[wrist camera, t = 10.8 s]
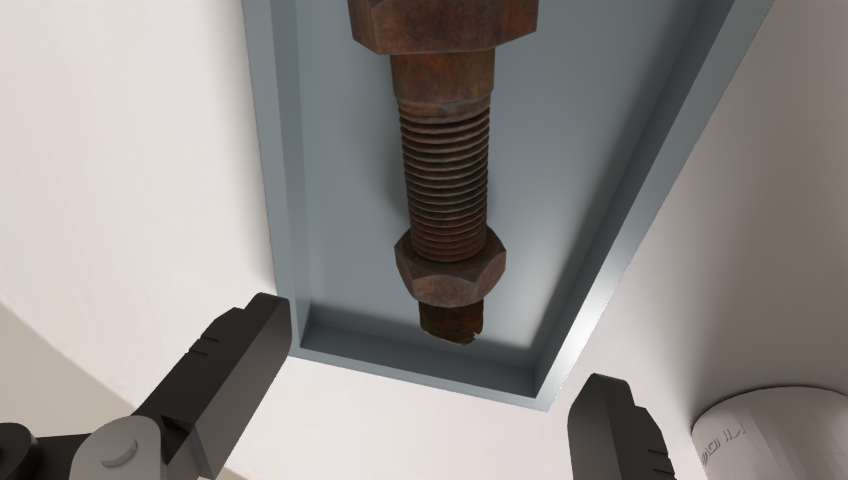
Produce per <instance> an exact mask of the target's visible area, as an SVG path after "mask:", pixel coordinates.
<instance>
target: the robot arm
mask: <svg viewBox="0 0 848 480" xmlns="http://www.w3.org/2000/svg"><path fill="white" fill-rule="evenodd" d="M291 343H292V325H291V312H290V302H289V300H288V299H287V298H283V297H279V296H275V295H270V294H266V293H262V292H260V293H258V294H256V295H255V296H254V297H253V299H252V300H251V301H250V302H249V304H248V305H247V306H246V307H245V309H240V308H236V307H234V308H232V309H230V310H229V311H227V312H226V313H224V314H222V315H221V316H219V317H218V318H216V319H215V320H214V321H213V322H212V323H211V324H210V325H209V327H208V328H207V329H206V330H205V331H204V332H203V334H202V335H201V337H200V339H197V341H196V342H195V343H194V344H193V345H192V346H191V348H190V349H189V352H188V353H185V355H184V356H183V357H182V358H181V359H180V360H179V362H178V363H177V364H176V365H175V366H174V367H173V369H172V370H171V371H170V372H169V373H168V374H167V376H166V377H165V378H164V379H163V380H162V381H161V383H160V384H159V385H158V386H157V387H156V388H155V390H154V391H153V392H152V393H151V394H150V395H149V397H148V398H147V399H146V400H145V401H144V402H143V404H142V405H141V406H140V407H139V408H138V409H137V410H136V411H135V412H133V413H132V414H131V415H130V416H127V417H122V418H119V419H116V420H113V421H112V422H109V423H107V424H105V425H104V426H102V427H100V428H99V429H97V430H96V431H95V432H93V433H88V434H80V435H65V436H52V437H40V438H35V437H34V436H33V435H32V434H31V433H30V431H29V430H28V429H27V428H26V427H25V426H23V425H21V424H18V423H0V480H197V479H198V477H199V476H201V477H204V478H207V479H211V480H215V479H216V478H217V476H218V474H219V472H220V471H221V469H222V467H223V466H224V464H225V462H226V460H227V459H228V457H229V455H230V454H231V452H232V450H233V449H234V447H235V445H236V443H237V442H238V440H239V438H240V437H241V435H242V433H243V431H244V430H245V428H246V426H247V425H248V423H249V421H250V419H251V418H252V416H253V414H254V413H255V411H256V409H257V408H258V406H259V404H260V402H261V401H262V399H263V397H264V396H265V394H266V392H267V390H268V389H269V387H270V385H271V384H272V382H273V380H274V378H275V377H276V375H277V373H278V372H279V370H280V368H281V367H282V365H283V363H284V361H285V360H286V358H287V356H288V353H289V351H290V347H291ZM567 429H568V438H569V447H570V455H571V463H572V471H573V480H677V479H675V477H674V475H675V472H674V469H673V466H672V463H671V460H670V459H669V458H668V451H667V448H666V445H665V442H664V439H663V436H662V432H661V430H660V429H659V427H658V426H657V424H656V423H655V421H654V420H653V418H652V417H651V415H650V414H649V412H648V411H647V410H646V408H643V407H639V406H635V404H634V400H633V397H632V393H631V390H630V387H629V385H628V383H627V382H626V381H625V380H621V379H617V378H613V377H609V376H605V375H601V374H596V373H593V374H591V375H590V377H589V378H588V380H587V381H586V383H585V385H584V386H583V388H582V390H581V391H580V393H579V394H578V396H577V398H576V399H575V401H574V403H573V404H572V406H571V408H570V411H569V415H568V424H567ZM692 439H693V443H694V446H695V448H696V451H697V453H698V456H699V458H700V461H701V463H702V466H703V468H704V471H705V473H706V475H707V478H708V480H848V397H847V396H844V395H842V394H839V393H837V392H833V391H828V390H824V389H819V388H809V387H777V388H770V389H762V390H757V391H753V392H749V393H745V394H741V395H738V396H735V397H733V398H730V399H727V400H725V401H723V402H721V403H719V404H717V405H715V406H714V407H712V408H710V409H709V410H708V411H707V412H705V413H704V414H703V415H702V416H700V418H699V419H698V421H697V422H696V423H695V425H694V428H693V431H692Z"/></svg>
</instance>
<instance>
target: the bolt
mask: <svg viewBox="0 0 848 480" xmlns="http://www.w3.org/2000/svg"><path fill="white" fill-rule="evenodd" d="M347 3H348V10H349V17H350V24H351V30H352V37H353V40H354V41H356V42H358V43H359V44H361V45H363V46H364V47H366V48H368V49H369V50H371V51H372V52H374V53H376V54H377V55H390V63H391V72H392V82H393V91H394V95H395V97H396V98H397V104H398V105H399V107H398V112H399V115H400V118H399V122H400V124H401V127H400V131H401V134H402V136H401V141H402V143H403V144H402V151H403V159H404V164H403V166H404V169H405V171H404V175H405V183H406V189H407V198H408V210H409V219H410V226H411V227H410V228H409V229H408V230H407V231H406V232H405V233H404V234H403V235H402V236H401V238H400V239H399V240H398V242H397V243H396V244H395V246H394V252H395V259H396V266H397V268H398V271H399V273H400V276H401V278H402V280H403V282H404V284H405V286H406V288H407V290H408V292H409V293H410V295H411V296H412V297H413V298H414V299H415V300H418V306H419V314H420V326H421V328H422V329H423V330H424V332H426V333H427V334H430V335H432V336H435V337H437V338H440V339H442V340H445V341H447V342H450V343H452V344H455V345H458V346H464V345H467V344H469V343H471V342H473V341H474V340H475V338H474V336H475V334H477V335H479V334H480V333H481V332H482V329H483V321H484V318H483V310H484V297H485V296H486V295H487V294H489V293H490V292H491V290H492V289H493V288H494V287H495V285H496V284H497V283H498V281H499V280H500V278H501V276H502V275H503V273H504V272H505V267H506V253H507V251H506V249H505V247H504V245H503V244H502V242H501V240H500V239H499V237H498V236H497V235H496V233H495V232H494V231H493V229H491V228H490V227H489V226H488V225H487V223H486V220H487V192H488V188H487V184H488V177H487V176H488V169H487V167H488V154H489V153H488V150H489V144H488V142H489V135H488V134H489V131H490V127H489V124H490V119H489V115H490V107H489V106H490V103H491V92H492V91H493V88H494V69H495V47H497V46H500V45H502V44H505V43H507V42H510V41H513V40H515V39H518V38H521V37H523V36H526V35H528V34H531V33H534V32H535V31H537V19H538V7H539V0H347Z"/></svg>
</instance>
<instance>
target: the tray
mask: <svg viewBox="0 0 848 480" xmlns="http://www.w3.org/2000/svg"><path fill="white" fill-rule="evenodd" d="M773 2H774V0H539V7H538V19H537V31H535V32H534V33H531V34H528V35H526V36H523V37H521V38H518V39H515V40H513V41H510V42H507V43H505V44H502V45H500V46H497V47H495V69H494V88H493V91H492V92H491V103H490V106H489V107H490V115H489V119H490V124H489V127H490V131H489V134H488V135H489V142H488V144H489V150H488V153H489V154H488V167H487V169H488V176H487V177H488V184H487V188H488V192H487V220H486V223H487V225H488V226H489V227H490V228H491V229H493V231H494V232H495V233H496V235H497V236H498V237H499V239H500V240H501V242H502V244H503V245H504V247H505V249H506V251H507V253H506V267H505V272H504V273H503V275H502V276H501V278H500V280H499V281H498V283H497V284H496V285H495V287H494V288H493V289H492V290H491V292H490V293H489V294H487V295H486V296H485V297H484V310H483V318H484V321H483V329H482V332H481V333H480V334H479V335H477V334H475V336H474V338H475V340H474V341H473V342H471V343H469V344H467V345H464V346H458V345H455V344H452V343H450V342H447V341H445V340H442V339H440V338H437V337H435V336H432V335H430V334H427V333H426V332H424V330H423V329H422V328H421V326H420V314H419V306H418V300H415V299H414V298H413V297H412V296H411V295H410V293H409V292H408V290H407V288H406V286H405V284H404V282H403V280H402V278H401V276H400V273H399V271H398V268H397V266H396V259H395V252H394V246H395V244H396V243H397V242H398V240H399V239H400V238H401V236H402V235H403V234H404V233H405V232H406V231H407V230H408V229H409V228H410V227H411V226H410V219H409V210H408V198H407V189H406V183H405V175H404V171H405V169H404V166H403V164H404V159H403V151H402V144H403V143H402V141H401V136H402V134H401V131H400V127H401V124H400V122H399V118H400V115H399V112H398V107H399V105H398V104H397V98H396V97H395V95H394V91H393V82H392V72H391V63H390V55H377V54H376V53H374V52H372V51H371V50H369V49H368V48H366V47H364V46H363V45H361V44H359V43H358V42H356V41H354V40H353V37H352V30H351V24H350V17H349V10H348V3H347V0H242V7H243V15H244V23H245V31H246V40H247V48H248V56H249V65H250V73H251V81H252V89H253V98H254V106H255V114H256V123H257V131H258V139H259V147H260V156H261V164H262V172H263V181H264V189H265V197H266V206H267V214H268V222H269V230H270V239H271V247H272V255H273V264H274V272H275V280H276V288H277V296H279V297H283V298H287V299H288V300H289V302H290V312H291V325H292V343H291V347H290V351H289V353H288V356H292V357H296V358H301V359H305V360H310V361H314V362H319V363H324V364H328V365H333V366H337V367H342V368H347V369H351V370H356V371H360V372H365V373H369V374H374V375H379V376H383V377H388V378H392V379H397V380H402V381H406V382H411V383H415V384H420V385H424V386H429V387H434V388H438V389H443V390H447V391H452V392H457V393H461V394H466V395H470V396H475V397H479V398H484V399H489V400H493V401H498V402H502V403H507V404H512V405H516V406H521V407H525V408H530V409H534V410H539V411H544V412H548V411H549V409H550V407H551V405H552V404H553V402H554V400H555V398H556V396H557V394H558V393H559V391H560V389H561V387H562V385H563V384H564V382H565V380H566V378H567V376H568V374H569V373H570V371H571V369H572V367H573V365H574V364H575V362H576V360H577V358H578V356H579V354H580V353H581V351H582V349H583V347H584V345H585V344H586V342H587V340H588V338H589V336H590V335H591V333H592V331H593V329H594V327H595V325H596V324H597V322H598V320H599V318H600V316H601V315H602V313H603V311H604V309H605V307H606V305H607V304H608V302H609V300H610V298H611V296H612V295H613V293H614V291H615V289H616V287H617V285H618V284H619V282H620V280H621V278H622V276H623V275H624V273H625V271H626V269H627V267H628V265H629V264H630V262H631V260H632V258H633V256H634V255H635V253H636V251H637V249H638V247H639V245H640V244H641V242H642V240H643V238H644V236H645V235H646V233H647V231H648V229H649V227H650V225H651V224H652V222H653V220H654V218H655V216H656V215H657V213H658V211H659V209H660V207H661V205H662V204H663V202H664V200H665V198H666V196H667V195H668V193H669V191H670V189H671V187H672V186H673V184H674V182H675V180H676V178H677V176H678V175H679V173H680V171H681V169H682V167H683V166H684V164H685V162H686V160H687V158H688V156H689V155H690V153H691V151H692V149H693V147H694V146H695V144H696V142H697V140H698V138H699V136H700V135H701V133H702V131H703V129H704V127H705V126H706V124H707V122H708V120H709V118H710V116H711V115H712V113H713V111H714V109H715V107H716V106H717V104H718V102H719V100H720V98H721V96H722V95H723V93H724V91H725V89H726V87H727V86H728V84H729V82H730V80H731V78H732V76H733V75H734V73H735V71H736V69H737V67H738V66H739V64H740V62H741V60H742V58H743V57H744V55H745V53H746V51H747V49H748V47H749V46H750V44H751V42H752V40H753V38H754V37H755V35H756V33H757V31H758V29H759V27H760V26H761V24H762V22H763V20H764V18H765V17H766V15H767V13H768V11H769V9H770V7H771V6H772V4H773Z"/></svg>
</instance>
